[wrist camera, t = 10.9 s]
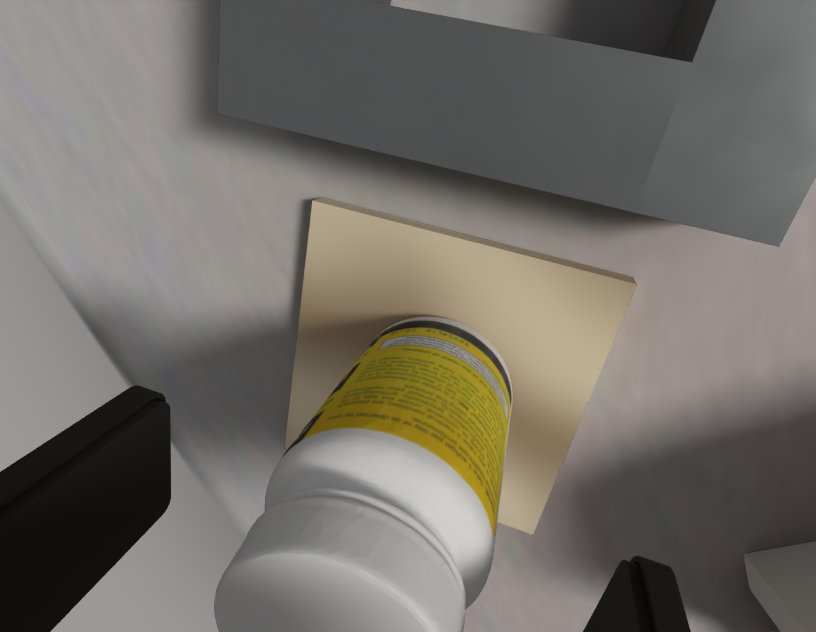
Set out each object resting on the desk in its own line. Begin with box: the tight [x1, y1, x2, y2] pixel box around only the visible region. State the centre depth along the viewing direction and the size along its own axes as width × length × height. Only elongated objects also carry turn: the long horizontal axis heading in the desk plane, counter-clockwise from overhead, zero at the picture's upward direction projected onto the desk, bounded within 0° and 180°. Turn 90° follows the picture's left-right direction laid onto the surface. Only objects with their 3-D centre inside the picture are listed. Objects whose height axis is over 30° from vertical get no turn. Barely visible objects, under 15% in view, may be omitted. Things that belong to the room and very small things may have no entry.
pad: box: [284, 197, 637, 535], centre depth 15 cm, size 9×9×1 cm
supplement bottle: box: [214, 317, 513, 632], centre depth 11 cm, size 5×5×8 cm
